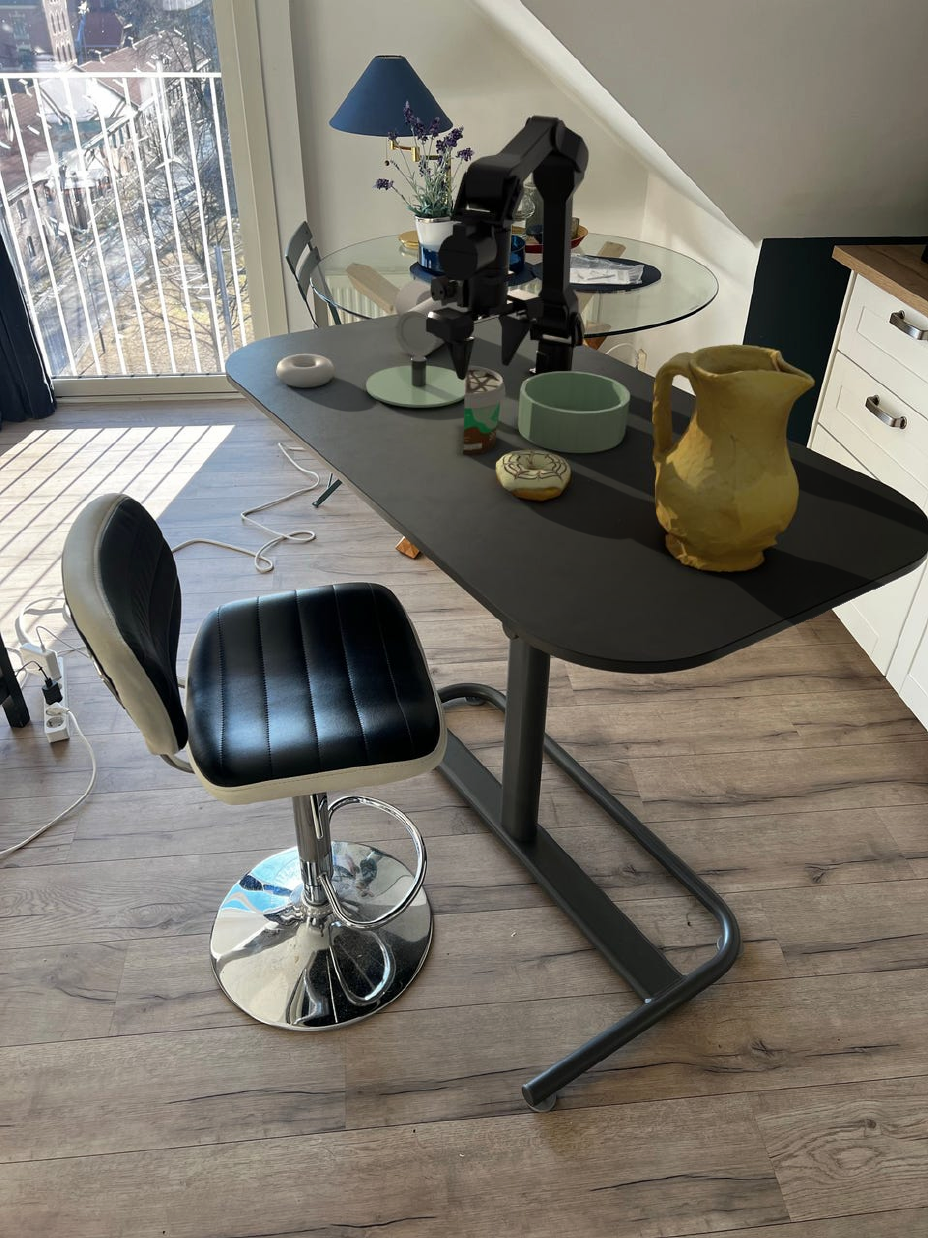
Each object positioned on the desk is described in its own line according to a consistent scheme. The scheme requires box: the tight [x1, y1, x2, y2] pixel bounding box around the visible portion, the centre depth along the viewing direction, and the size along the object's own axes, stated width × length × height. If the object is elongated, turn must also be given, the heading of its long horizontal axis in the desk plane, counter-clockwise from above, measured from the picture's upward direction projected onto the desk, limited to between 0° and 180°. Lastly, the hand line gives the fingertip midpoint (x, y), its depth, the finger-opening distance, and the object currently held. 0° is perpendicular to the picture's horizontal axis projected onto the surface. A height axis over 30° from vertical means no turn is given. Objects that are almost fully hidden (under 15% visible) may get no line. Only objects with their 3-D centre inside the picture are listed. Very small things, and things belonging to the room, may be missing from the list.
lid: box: [365, 356, 465, 409], centre depth 157 cm, size 18×18×6 cm
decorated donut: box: [495, 449, 572, 502], centre depth 130 cm, size 10×11×4 cm
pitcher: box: [651, 343, 816, 573], centre depth 112 cm, size 17×19×25 cm
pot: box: [517, 371, 631, 454], centre depth 145 cm, size 17×17×6 cm
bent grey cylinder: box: [395, 280, 467, 357], centre depth 176 cm, size 18×10×20 cm
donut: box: [276, 353, 335, 388], centre depth 160 cm, size 10×4×10 cm
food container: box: [462, 365, 507, 455], centre depth 139 cm, size 12×6×10 cm, turn 179°
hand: (483, 371), depth 136 cm, fingers open, 9 cm apart
